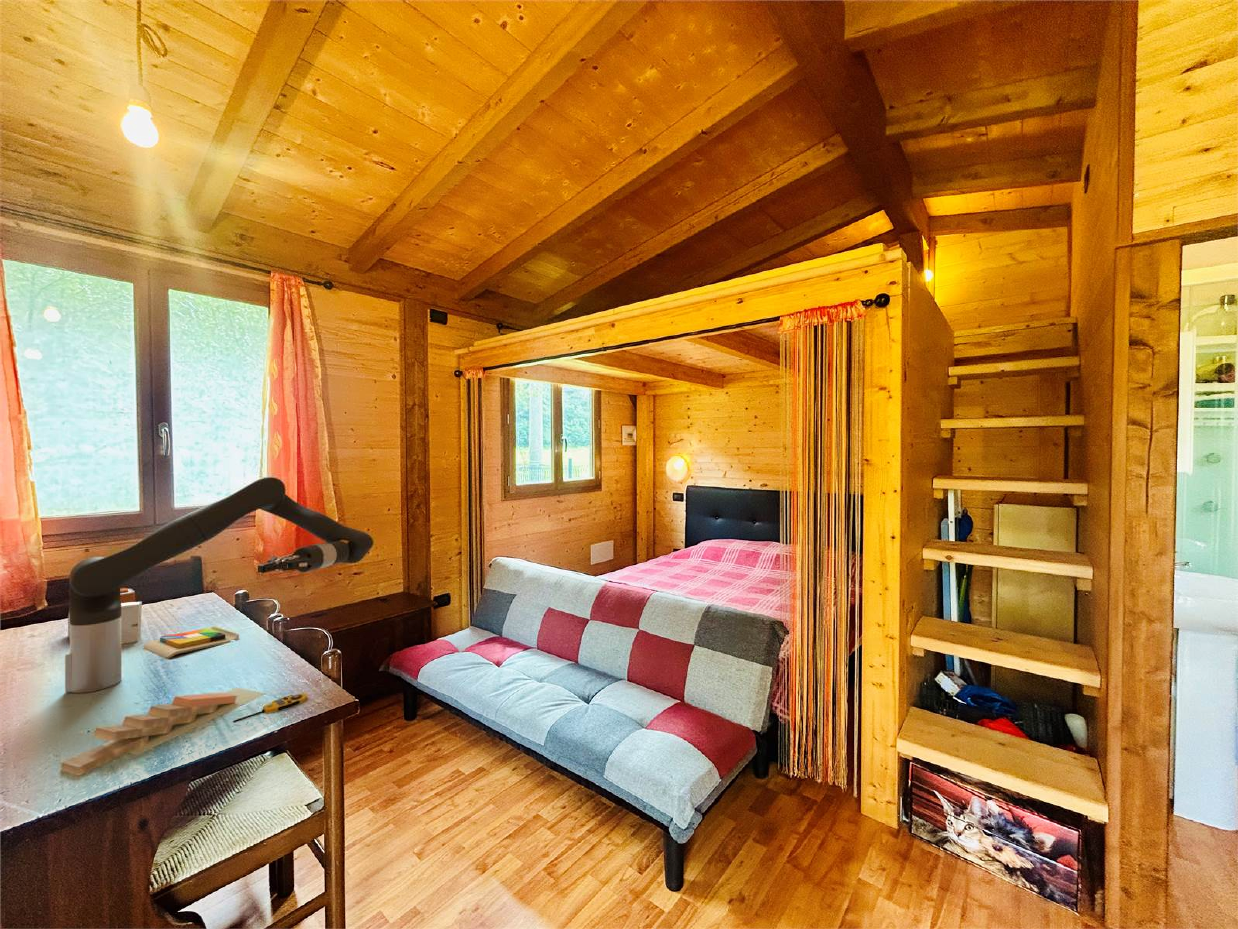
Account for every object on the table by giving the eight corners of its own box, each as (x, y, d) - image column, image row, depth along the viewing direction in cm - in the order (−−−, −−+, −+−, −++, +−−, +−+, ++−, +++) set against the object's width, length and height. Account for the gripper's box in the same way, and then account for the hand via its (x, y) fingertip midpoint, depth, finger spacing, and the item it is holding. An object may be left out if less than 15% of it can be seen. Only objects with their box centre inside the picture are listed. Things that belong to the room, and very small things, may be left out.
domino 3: (193, 722, 111) (138, 728, 101) (177, 718, 113) (122, 724, 103) (196, 714, 112) (142, 720, 102) (180, 710, 113) (125, 716, 103)
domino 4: (215, 712, 116) (164, 717, 106) (199, 708, 117) (148, 714, 107) (217, 704, 116) (167, 709, 106) (202, 701, 118) (151, 706, 108)
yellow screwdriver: (310, 696, 122) (236, 720, 110) (310, 703, 122) (236, 729, 110) (302, 690, 125) (229, 713, 113) (302, 697, 125) (229, 721, 113)
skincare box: (111, 645, 154) (111, 607, 154) (115, 641, 158) (115, 603, 158) (138, 641, 158) (138, 604, 158) (142, 637, 162) (142, 600, 161)
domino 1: (148, 743, 103) (78, 775, 93) (131, 739, 105) (61, 770, 94) (148, 735, 103) (78, 767, 93) (131, 731, 105) (61, 762, 94)
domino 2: (169, 732, 107) (109, 741, 97) (153, 729, 108) (92, 736, 98) (172, 724, 107) (113, 732, 97) (156, 720, 109) (96, 727, 99)
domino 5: (234, 702, 120) (187, 707, 110) (219, 699, 122) (172, 704, 112) (237, 695, 121) (190, 699, 111) (222, 692, 122) (174, 696, 112)
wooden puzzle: (240, 640, 162) (240, 629, 162) (168, 661, 145) (168, 649, 145) (213, 631, 170) (213, 621, 170) (141, 650, 153) (141, 638, 153)
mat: (136, 757, 99) (136, 755, 99) (103, 748, 102) (103, 746, 102) (265, 695, 125) (265, 693, 125) (236, 689, 128) (236, 687, 128)
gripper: (298, 543, 152) (241, 553, 135) (332, 546, 148) (278, 557, 131) (298, 567, 152) (241, 581, 135) (332, 571, 148) (278, 585, 131)
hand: (259, 569), depth 133 cm, fingers closed
